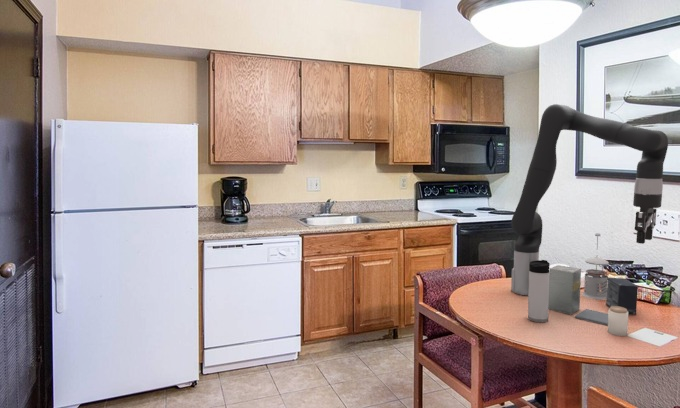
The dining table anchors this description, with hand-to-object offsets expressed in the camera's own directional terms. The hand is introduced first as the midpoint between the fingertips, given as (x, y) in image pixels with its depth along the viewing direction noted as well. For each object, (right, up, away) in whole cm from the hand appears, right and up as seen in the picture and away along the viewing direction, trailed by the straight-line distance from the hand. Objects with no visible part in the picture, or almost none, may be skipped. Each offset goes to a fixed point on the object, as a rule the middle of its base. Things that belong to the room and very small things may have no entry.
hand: (644, 241), depth 146 cm
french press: (+1, -24, +29) cm, 38 cm away
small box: (0, -26, +12) cm, 28 cm away
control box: (-20, -26, +13) cm, 35 cm away
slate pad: (-13, -26, +5) cm, 30 cm away
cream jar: (-14, -28, -8) cm, 32 cm away
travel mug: (-33, -27, +4) cm, 43 cm away
